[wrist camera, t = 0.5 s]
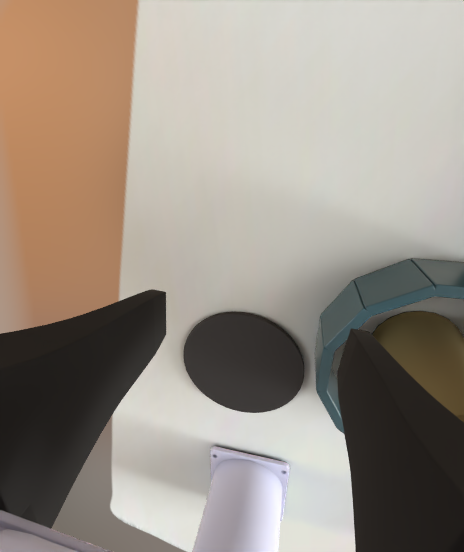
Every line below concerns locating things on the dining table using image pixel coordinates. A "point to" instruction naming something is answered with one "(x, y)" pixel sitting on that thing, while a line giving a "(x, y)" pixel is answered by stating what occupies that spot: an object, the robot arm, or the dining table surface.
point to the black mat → (244, 362)
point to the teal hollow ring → (377, 311)
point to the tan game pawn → (428, 354)
